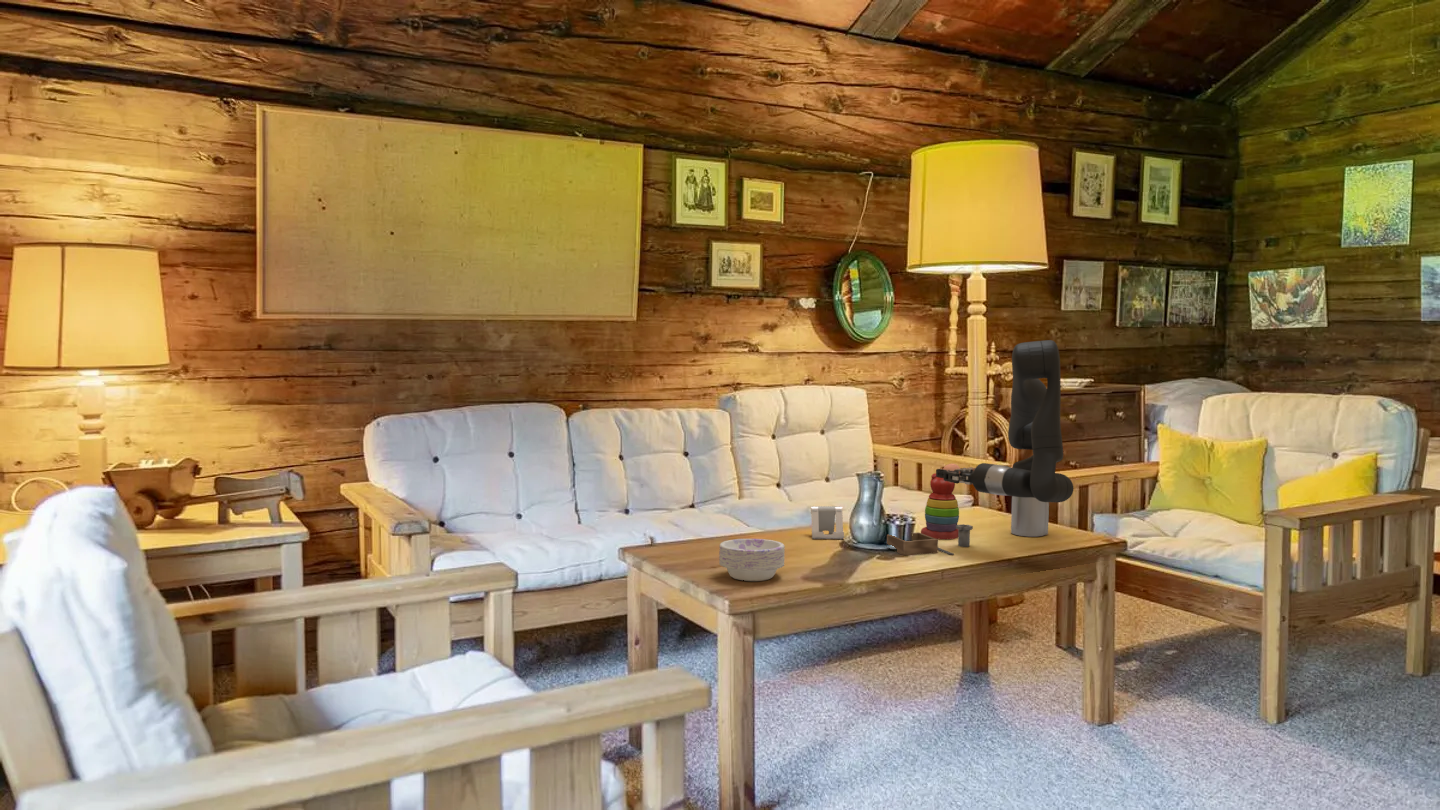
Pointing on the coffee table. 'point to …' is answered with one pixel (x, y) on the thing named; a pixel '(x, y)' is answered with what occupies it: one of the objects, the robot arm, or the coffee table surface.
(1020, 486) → the robot arm
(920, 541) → the shallow wooden crate
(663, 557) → the coffee table surface
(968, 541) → the tee
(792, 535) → the coffee table surface
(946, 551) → the finish line
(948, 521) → the stacking bear
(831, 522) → the portable electronic device stand
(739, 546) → the paper bowls
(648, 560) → the coffee table surface
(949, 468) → the ball
